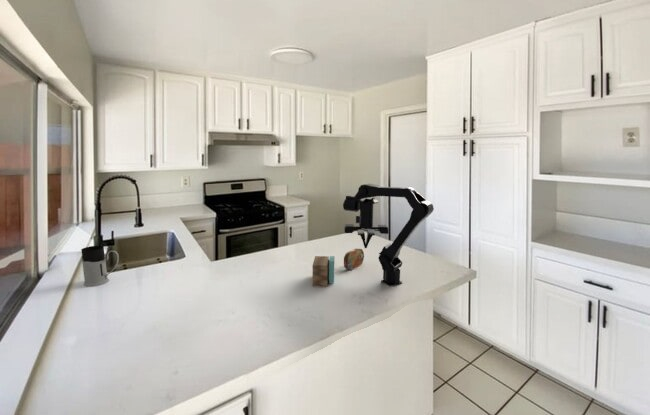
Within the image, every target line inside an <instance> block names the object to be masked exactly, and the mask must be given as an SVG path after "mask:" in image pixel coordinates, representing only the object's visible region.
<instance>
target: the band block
mask: <svg viewBox="0 0 650 415" xmlns="http://www.w3.org/2000/svg"><path fill="white" fill-rule="evenodd" d="M329 259H330V256H327V255H326V256H325V255H324V256H323V255H319V256H318V255H315V256H314V258H313V262H312V287H325V288H326V287H328V283H329Z"/></svg>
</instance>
